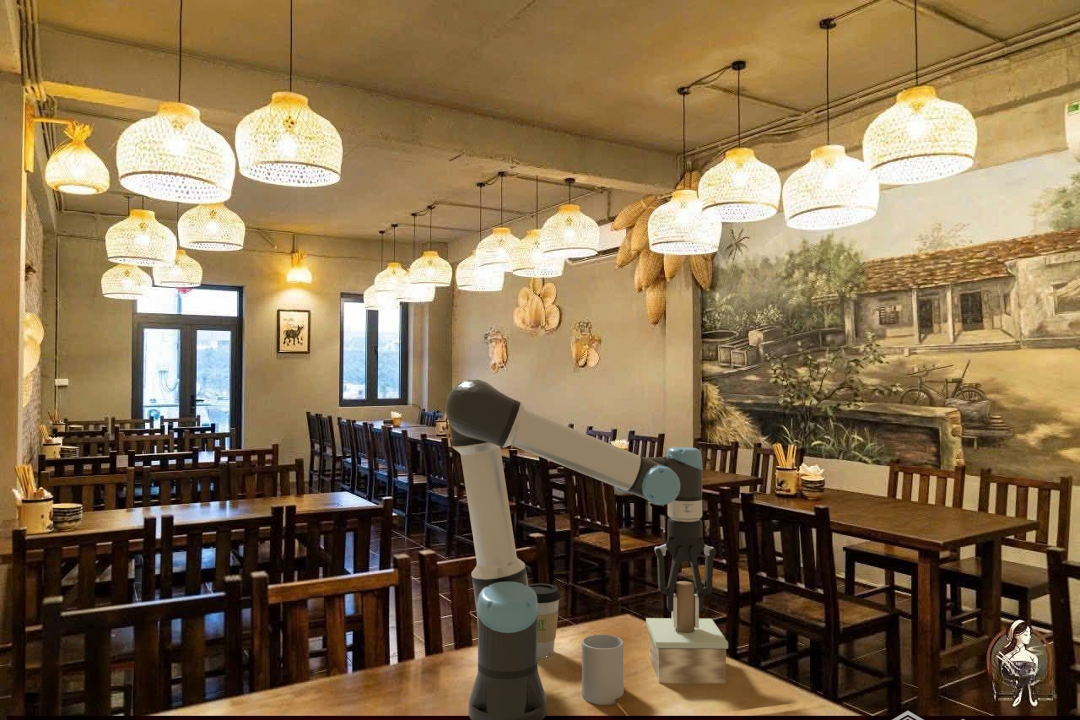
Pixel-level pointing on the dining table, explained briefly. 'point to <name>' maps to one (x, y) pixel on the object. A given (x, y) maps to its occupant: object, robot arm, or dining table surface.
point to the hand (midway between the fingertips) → (685, 625)
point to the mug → (602, 669)
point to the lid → (685, 625)
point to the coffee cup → (546, 616)
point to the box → (688, 664)
